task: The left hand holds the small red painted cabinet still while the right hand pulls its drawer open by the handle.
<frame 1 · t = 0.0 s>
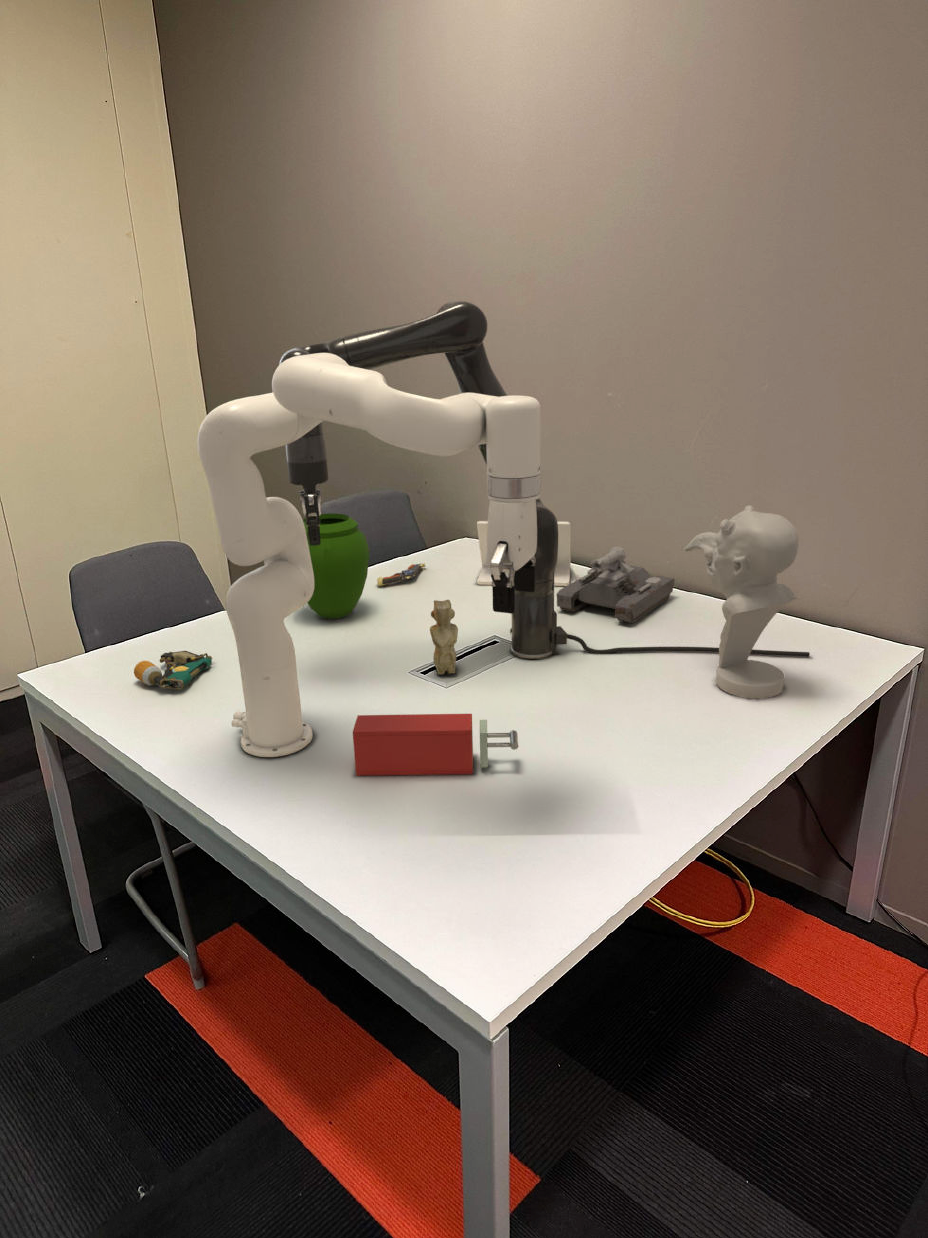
left hand: (514, 601, 126), 31 cm above the table, tool pointing down, fingers open, 9 cm apart
right hand: (314, 539, 170), 29 cm above the table, tool pointing down, fingers open, 8 cm apart
cabinet: (415, 765, 143), on the table
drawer: (447, 743, 142), point 4 cm above the table, slide at 1.3 cm
toy: (615, 605, 214), on the table
spray gun: (177, 676, 181), on the table
toy gun: (401, 577, 240), on the table
bust sculpture: (730, 681, 171), on the table
vase: (334, 614, 214), on the table
sculpture: (445, 671, 180), on the table
tablet stand: (525, 575, 239), on the table
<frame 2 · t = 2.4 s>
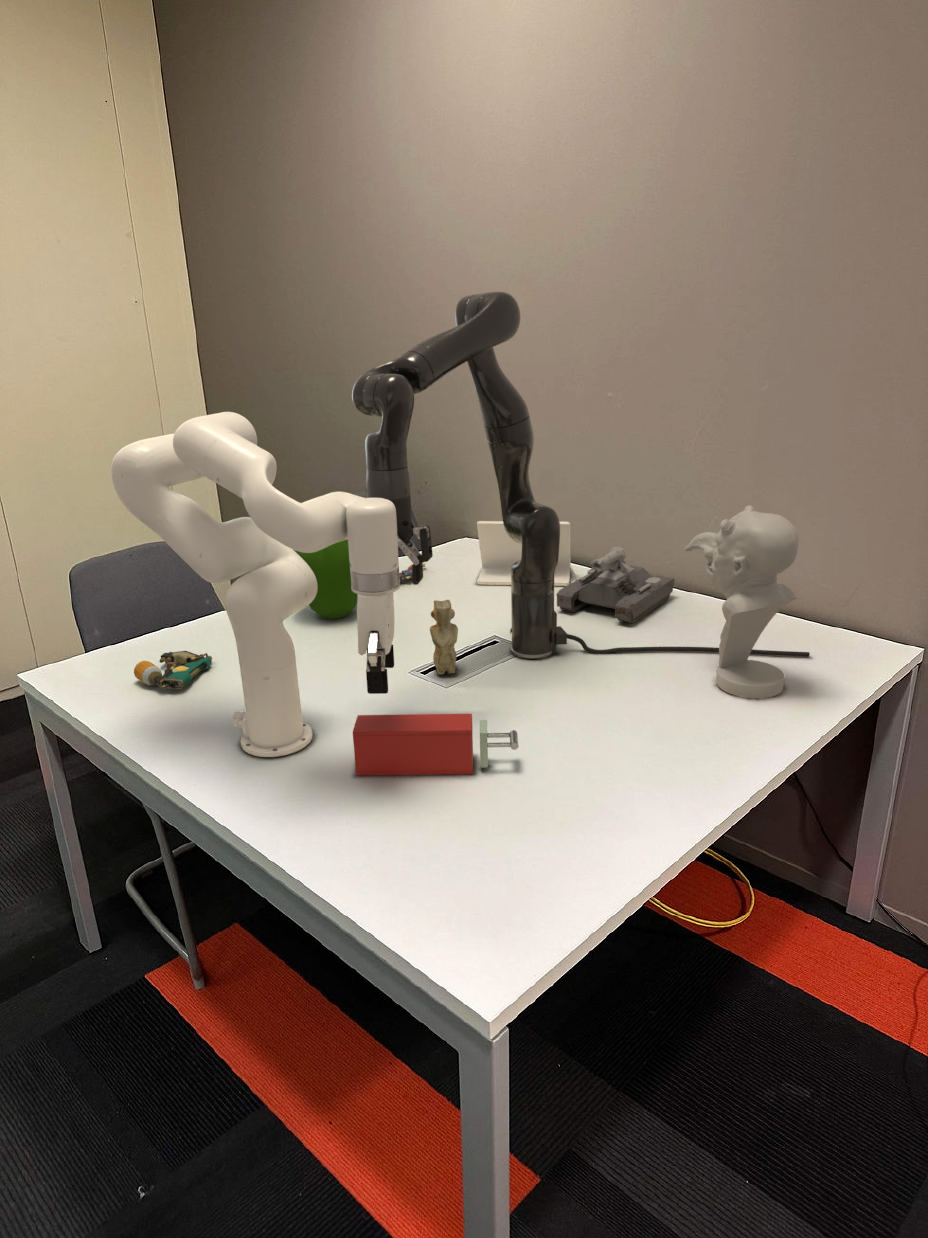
left hand: (381, 679, 138), 16 cm above the table, tool pointing down, fingers open, 9 cm apart
right hand: (393, 582, 153), 26 cm above the table, tool pointing down, fingers open, 8 cm apart
nothing on the table moved.
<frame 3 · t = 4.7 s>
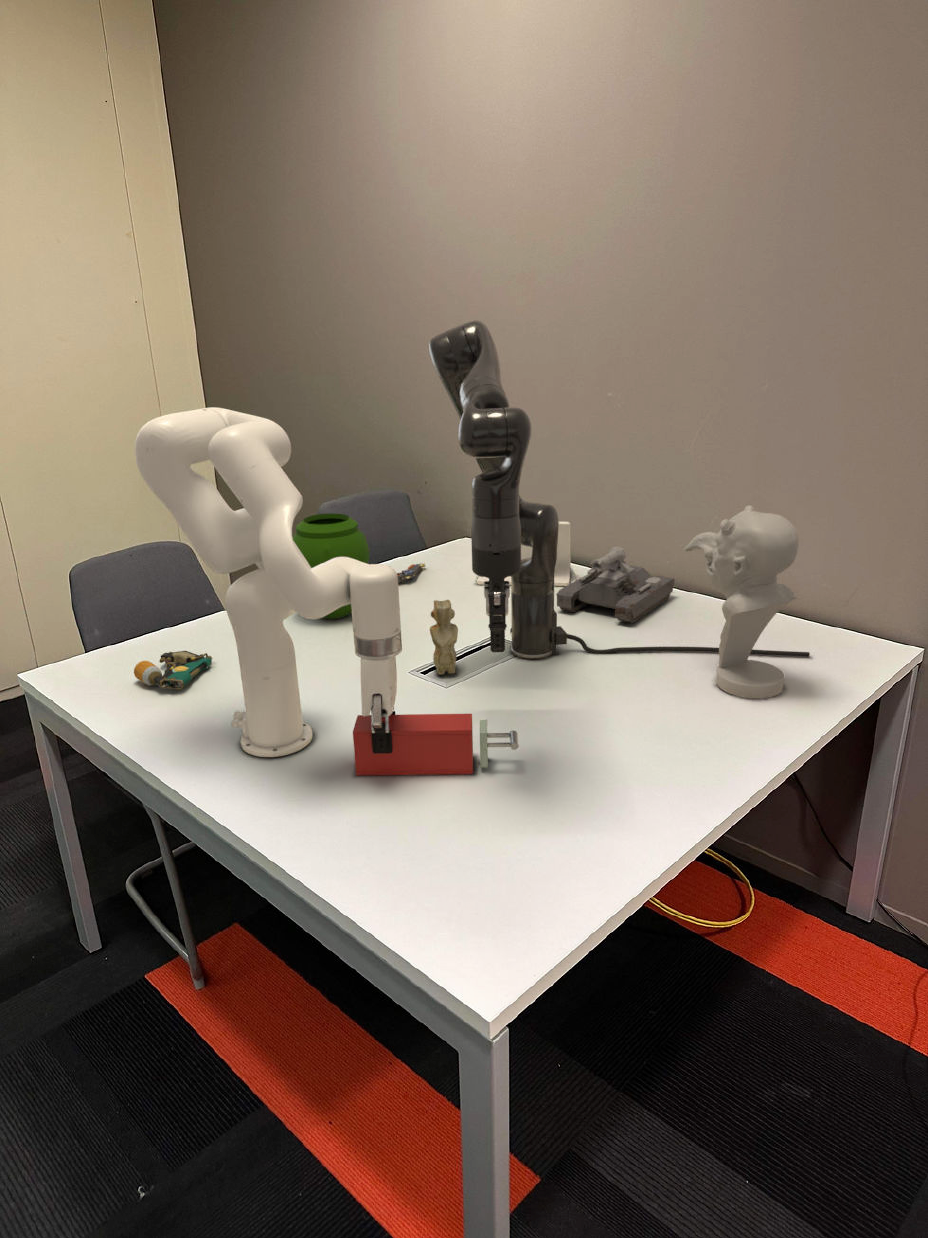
left hand: (384, 741, 142), 5 cm above the table, tool pointing down, fingers closed on cabinet, 5 cm apart
right hand: (497, 641, 135), 22 cm above the table, tool pointing down, fingers open, 8 cm apart
cabinet: (415, 765, 143), on the table, touching left hand
everything else where it was.
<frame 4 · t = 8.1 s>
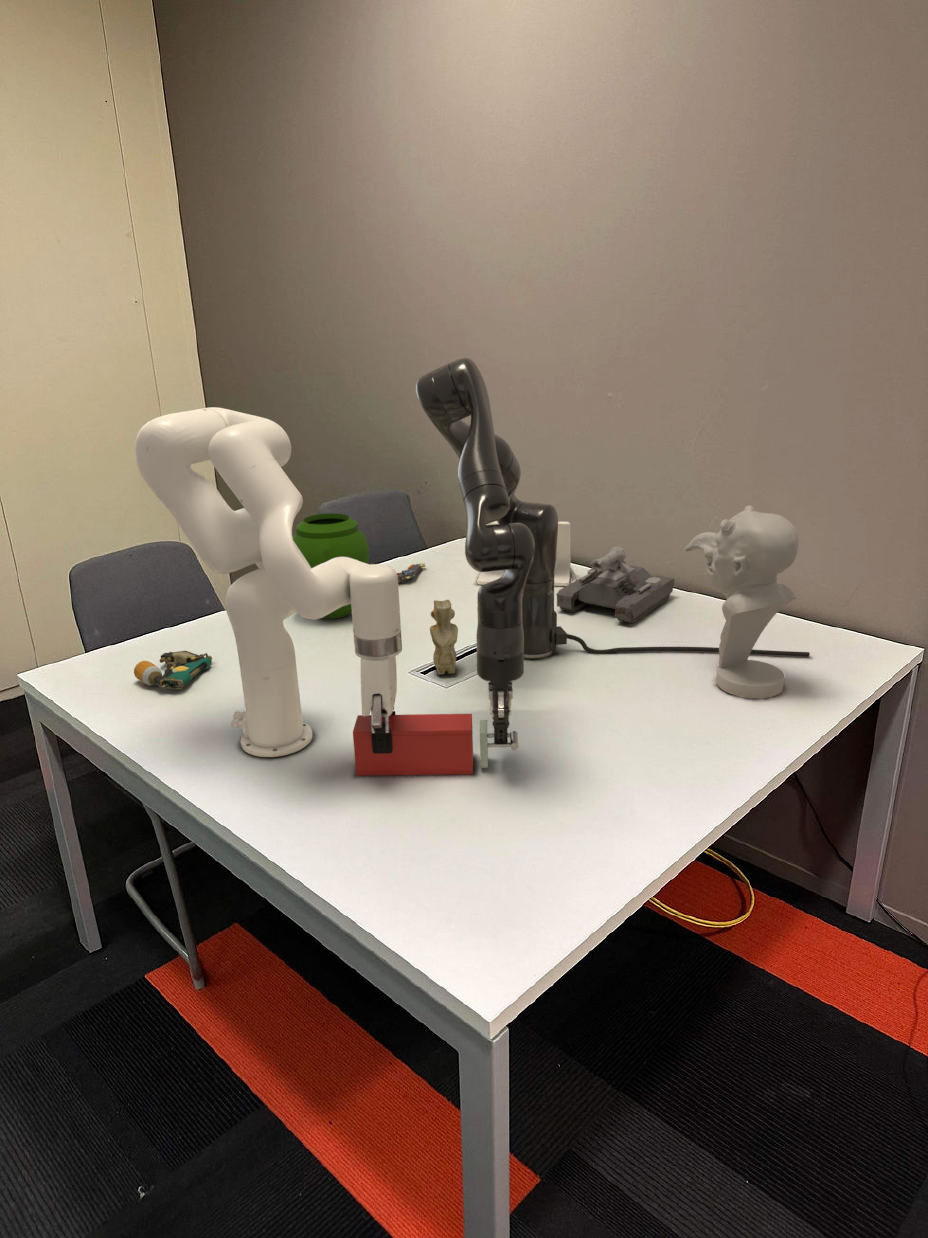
left hand: (384, 741, 142), 5 cm above the table, tool pointing down, fingers closed on cabinet, 5 cm apart
right hand: (500, 743, 142), 4 cm above the table, tool pointing down, fingers closed
cabinet: (415, 765, 143), on the table, touching left hand
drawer: (448, 743, 142), point 4 cm above the table, slide at 1.3 cm, touching right hand
everything else where it was.
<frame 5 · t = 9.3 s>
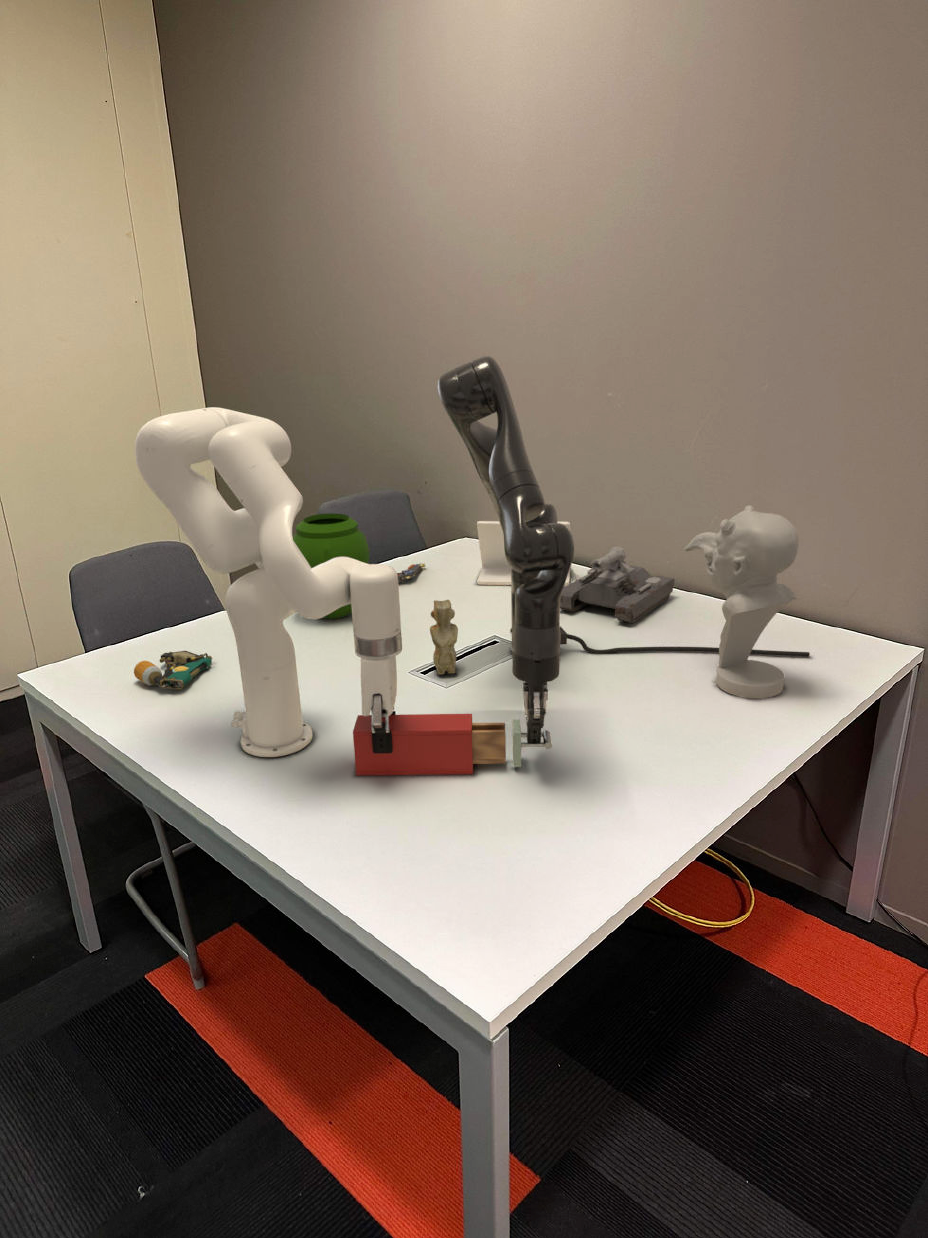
left hand: (385, 741, 142), 5 cm above the table, tool pointing down, fingers closed on cabinet, 5 cm apart
right hand: (533, 744, 141), 4 cm above the table, tool pointing down, fingers closed
cabinet: (415, 765, 143), on the table, touching left hand
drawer: (480, 743, 142), point 4 cm above the table, slide at 6.8 cm, touching right hand
everything else where it was.
when the left hand's fingers open (5 cm above the table, at t = 10.8 s): cabinet stays where it is, on the table.
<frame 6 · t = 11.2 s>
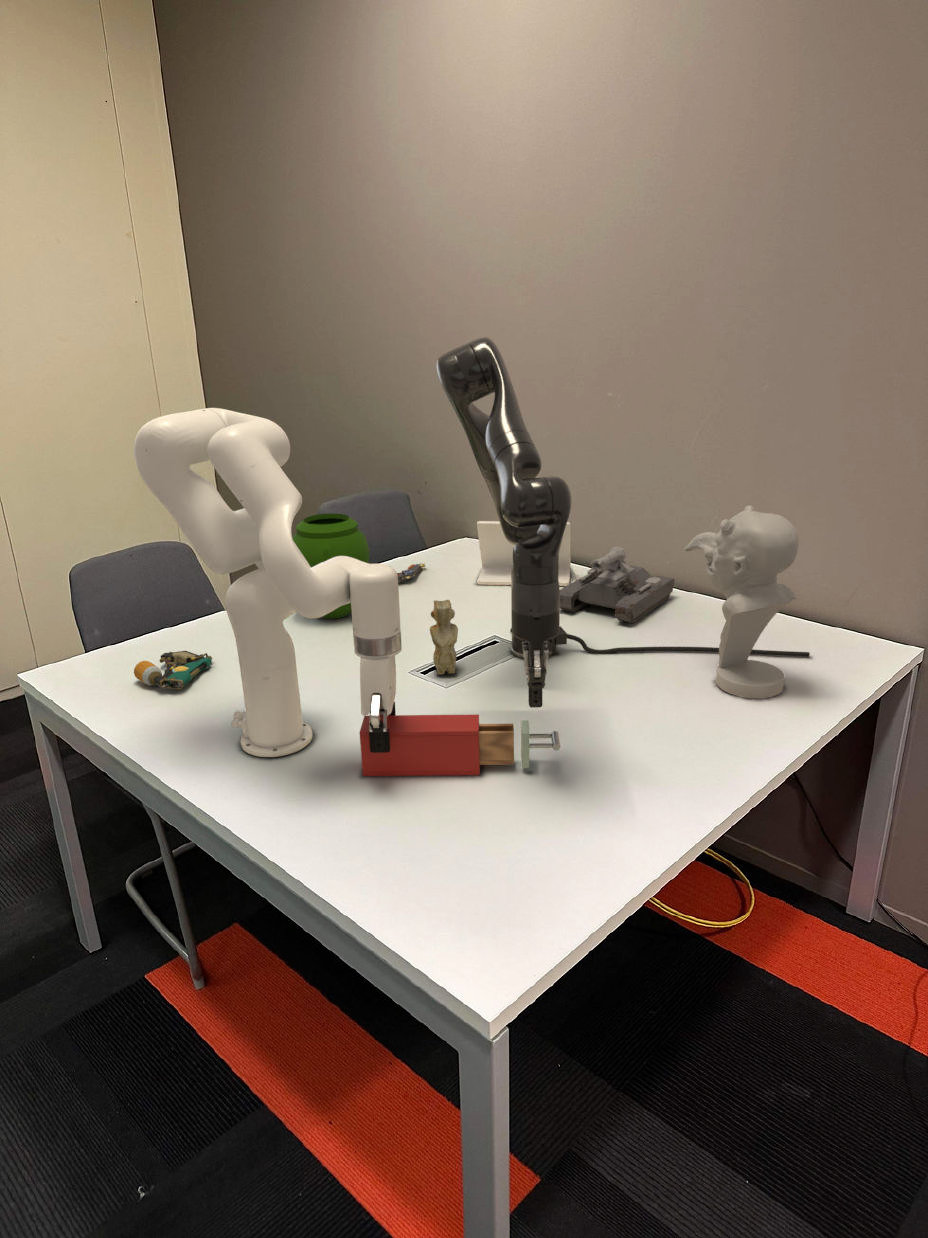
left hand: (383, 737, 142), 6 cm above the table, tool pointing down, fingers open, 9 cm apart
right hand: (535, 705, 139), 11 cm above the table, tool pointing down, fingers closed
cabinet: (422, 766, 143), on the table
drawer: (489, 744, 141), point 4 cm above the table, slide at 7.0 cm
everything else where it was.
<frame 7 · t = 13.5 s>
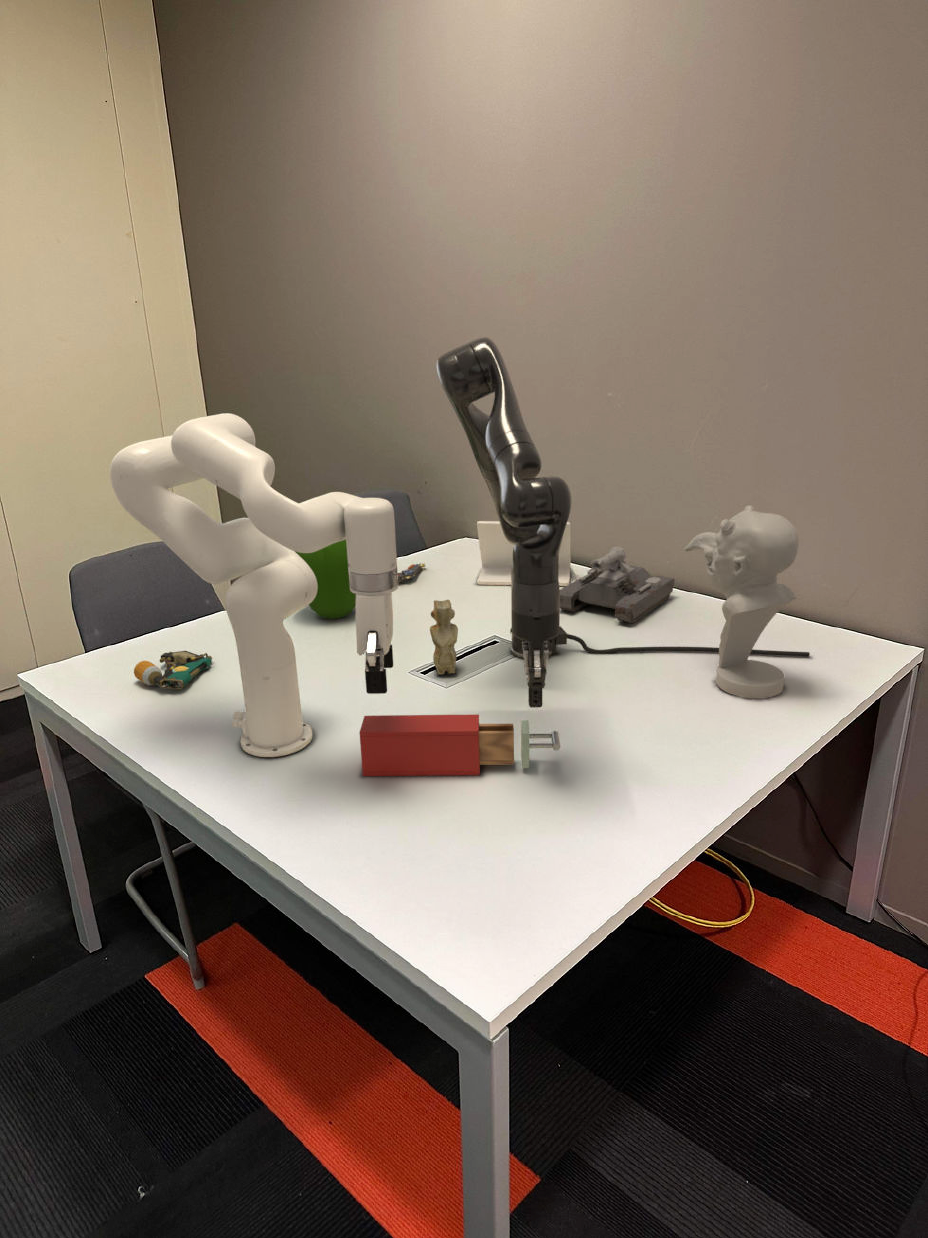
left hand: (380, 679, 138), 16 cm above the table, tool pointing down, fingers open, 9 cm apart
right hand: (535, 705, 139), 11 cm above the table, tool pointing down, fingers closed
nothing on the table moved.
at the end: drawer slide at 7.0 cm; cabinet tilted 0°; cabinet never tilted more than 6° during the clip; cabinet moved 1.2 cm from its start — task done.
